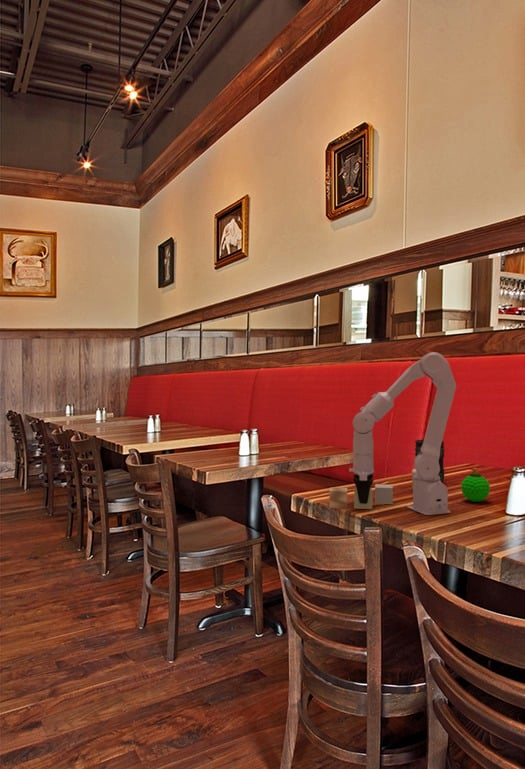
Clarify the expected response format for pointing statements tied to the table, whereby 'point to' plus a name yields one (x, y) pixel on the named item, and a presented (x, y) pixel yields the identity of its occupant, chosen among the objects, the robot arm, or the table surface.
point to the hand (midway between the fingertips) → (363, 501)
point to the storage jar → (441, 472)
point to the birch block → (338, 498)
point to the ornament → (475, 487)
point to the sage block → (359, 505)
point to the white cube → (383, 494)
